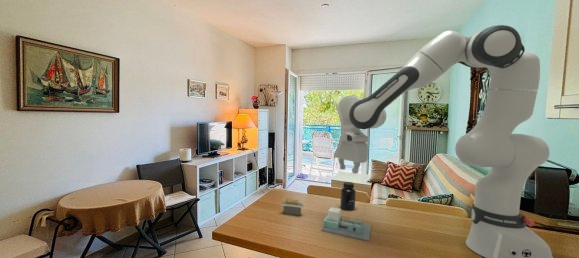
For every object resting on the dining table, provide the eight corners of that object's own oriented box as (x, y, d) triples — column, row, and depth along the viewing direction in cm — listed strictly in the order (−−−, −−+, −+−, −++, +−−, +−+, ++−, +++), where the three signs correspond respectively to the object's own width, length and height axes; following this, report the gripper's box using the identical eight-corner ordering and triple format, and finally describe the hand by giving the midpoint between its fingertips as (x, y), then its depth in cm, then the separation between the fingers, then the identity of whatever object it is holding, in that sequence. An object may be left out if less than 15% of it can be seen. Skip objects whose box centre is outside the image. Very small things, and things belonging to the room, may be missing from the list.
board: (371, 226, 93) (371, 219, 93) (368, 241, 82) (369, 233, 82) (329, 218, 100) (329, 211, 100) (321, 230, 89) (321, 223, 89)
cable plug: (360, 227, 91) (361, 212, 90) (359, 232, 87) (360, 216, 87) (330, 221, 96) (330, 207, 95) (327, 225, 92) (328, 210, 92)
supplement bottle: (352, 212, 107) (353, 186, 106) (338, 208, 110) (339, 183, 110) (356, 207, 113) (357, 182, 112) (343, 204, 116) (343, 180, 115)
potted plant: (277, 207, 112) (277, 193, 111) (314, 211, 107) (315, 197, 107) (268, 217, 100) (268, 202, 100) (310, 223, 96) (310, 207, 95)
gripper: (329, 136, 103) (329, 167, 103) (355, 137, 83) (355, 176, 83) (342, 136, 105) (342, 167, 105) (371, 137, 85) (370, 175, 85)
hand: (348, 171), depth 94 cm, fingers open, 8 cm apart
